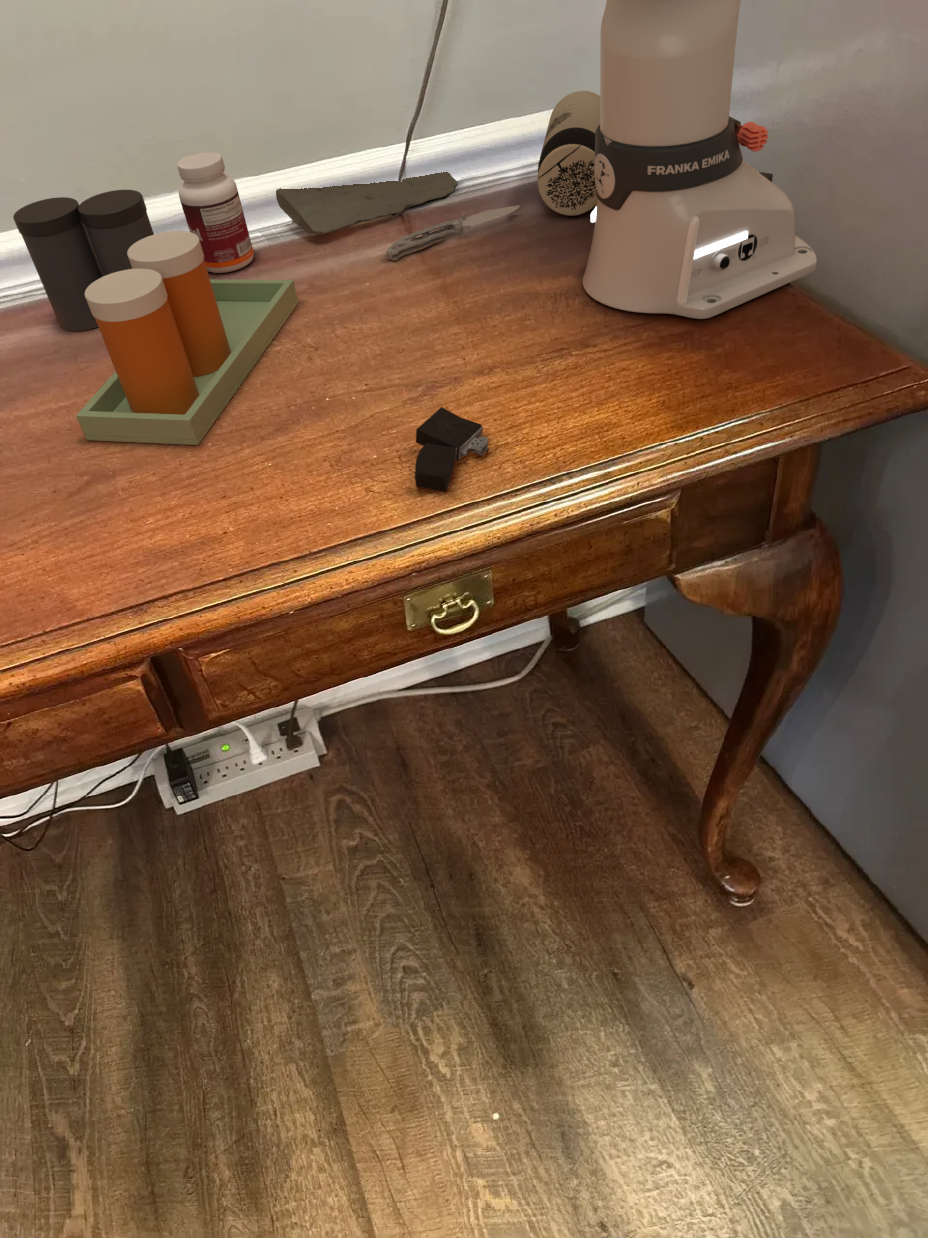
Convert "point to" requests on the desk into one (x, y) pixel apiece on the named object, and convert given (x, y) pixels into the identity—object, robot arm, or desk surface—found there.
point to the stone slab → (359, 201)
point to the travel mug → (570, 155)
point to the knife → (442, 232)
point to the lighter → (445, 447)
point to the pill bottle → (214, 212)
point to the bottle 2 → (143, 341)
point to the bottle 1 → (186, 295)
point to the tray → (249, 329)
